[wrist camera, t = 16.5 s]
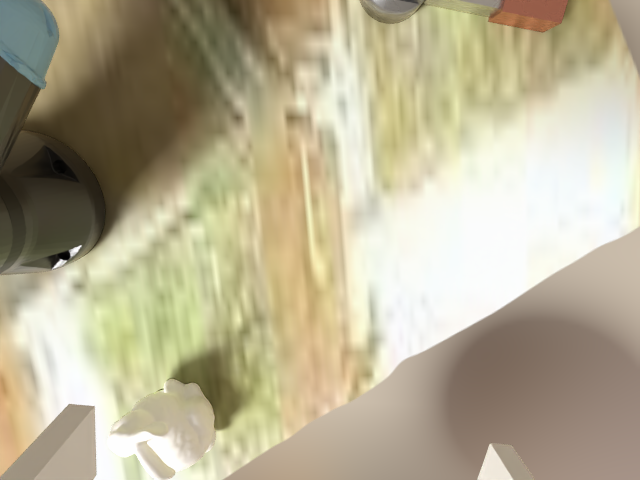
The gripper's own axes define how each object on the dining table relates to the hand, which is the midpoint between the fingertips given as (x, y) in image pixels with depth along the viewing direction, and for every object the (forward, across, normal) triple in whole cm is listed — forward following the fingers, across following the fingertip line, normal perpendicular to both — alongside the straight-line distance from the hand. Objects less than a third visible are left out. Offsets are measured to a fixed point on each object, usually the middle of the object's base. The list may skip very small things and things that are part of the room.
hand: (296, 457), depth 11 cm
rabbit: (+29, -13, -24) cm, 40 cm away
